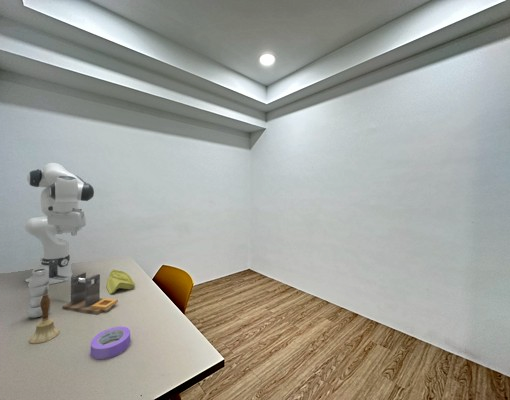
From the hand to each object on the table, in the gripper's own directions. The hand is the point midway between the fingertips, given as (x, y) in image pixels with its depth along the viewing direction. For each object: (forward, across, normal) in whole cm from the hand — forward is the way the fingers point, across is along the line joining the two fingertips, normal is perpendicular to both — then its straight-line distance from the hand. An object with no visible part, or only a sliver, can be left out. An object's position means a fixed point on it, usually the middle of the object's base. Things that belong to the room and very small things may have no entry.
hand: (66, 234), depth 110 cm
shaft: (+21, -9, +5) cm, 23 cm away
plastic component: (+32, -17, -17) cm, 40 cm away
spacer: (+29, -29, +5) cm, 42 cm away
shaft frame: (+32, -22, +5) cm, 39 cm away
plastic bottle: (+32, -8, +17) cm, 37 cm away
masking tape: (+32, -53, +25) cm, 66 cm away
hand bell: (+32, -25, +26) cm, 48 cm away
